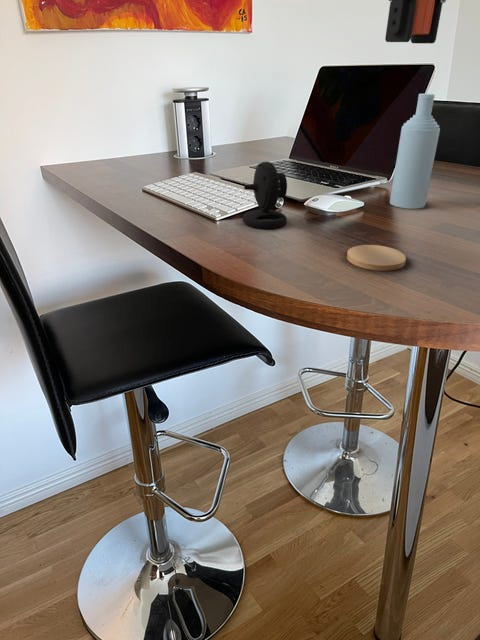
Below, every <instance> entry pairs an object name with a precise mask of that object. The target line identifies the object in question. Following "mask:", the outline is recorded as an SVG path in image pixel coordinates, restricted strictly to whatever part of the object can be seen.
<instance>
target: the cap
mask: <svg viewBox="0 0 480 640" xmlns="http://www.w3.org/2000/svg"><path fill="white" fill-rule="evenodd" d="M434 5H435V0H417V1H416V9H415V15H414V21H413V27H412V34H411V35H426V34H429V32H430V27H431V22H432V16H433V10H434Z"/></svg>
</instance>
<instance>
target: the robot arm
mask: <svg viewBox="0 0 480 640" xmlns="http://www.w3.org/2000/svg"><path fill="white" fill-rule="evenodd" d="M388 1H389V10H388V15H387V16H388V17H387V24H386V29H385V30H386V31H385V37H384V40H385V42H386V43H409V42H411V44H434V43H436V41H437V35H438V31H439V26H440V18H441V14H442V9H443V4H445V3H446V2H447V0H435V5H434V10H433V16H432V22H431V27H430V32H429V34H426V35H411V34H412V27H413V21H414V15H415V9H416V1H417V0H388Z"/></svg>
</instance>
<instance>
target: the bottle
mask: <svg viewBox="0 0 480 640" xmlns="http://www.w3.org/2000/svg"><path fill="white" fill-rule="evenodd" d="M435 98H436V97H435V94H434V93H418V97H417V105H416V111H415V114H413V115H412V117H410V118H409V120H406V122H404V123H403V125H402V126H401V129H400V136H399V143H398V149H397V155H396V160H395V166H394V167H395V168H394V173H393V180H392V187H391V192H390V198H389V204H390V205H391V206H394V207H397V208H400V209H408V210H412V209H413V210H416V209H418V210H419V209H423V208H425V207H426V202H427V198H428V192H429V187H430V182H431V178H432V177H431V176H432V172H433V166H434V162H435V157H436V152H437V146H438V142H439V137H440V132H441V128H440V125H439V124H438V121H436V119H435V118H434V116H433V115H432V111H433V106H434V100H435Z"/></svg>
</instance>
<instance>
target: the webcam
mask: <svg viewBox="0 0 480 640" xmlns="http://www.w3.org/2000/svg"><path fill="white" fill-rule="evenodd" d="M243 188H244V190H247V191H253V195H254V198H255V201H256V204H257V206H258V207H259V209H254V210H249V211H247V212H245V213H244V214H243V216H242V222H243V223H244V225H246V226H247V227H251V228H254V229H262V230H272V229H278V228H281V227H284V226H285V224H287V221H288V218H287V216H286V215H285V214H284V213H282V212H281V211H278V210H273V209H275V207H276V205H277V203H278V200H279V199H283V198H285V197H286V195H287V191H288V181H287V177H286V174H285V172H278V170H277V168H276V167H275V164H273V163H272V162H271V161H262V162H260V163H258V164H257V166H256V168H255V171H254V175H253V181H252V183H251V184H245V185H243Z"/></svg>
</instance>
